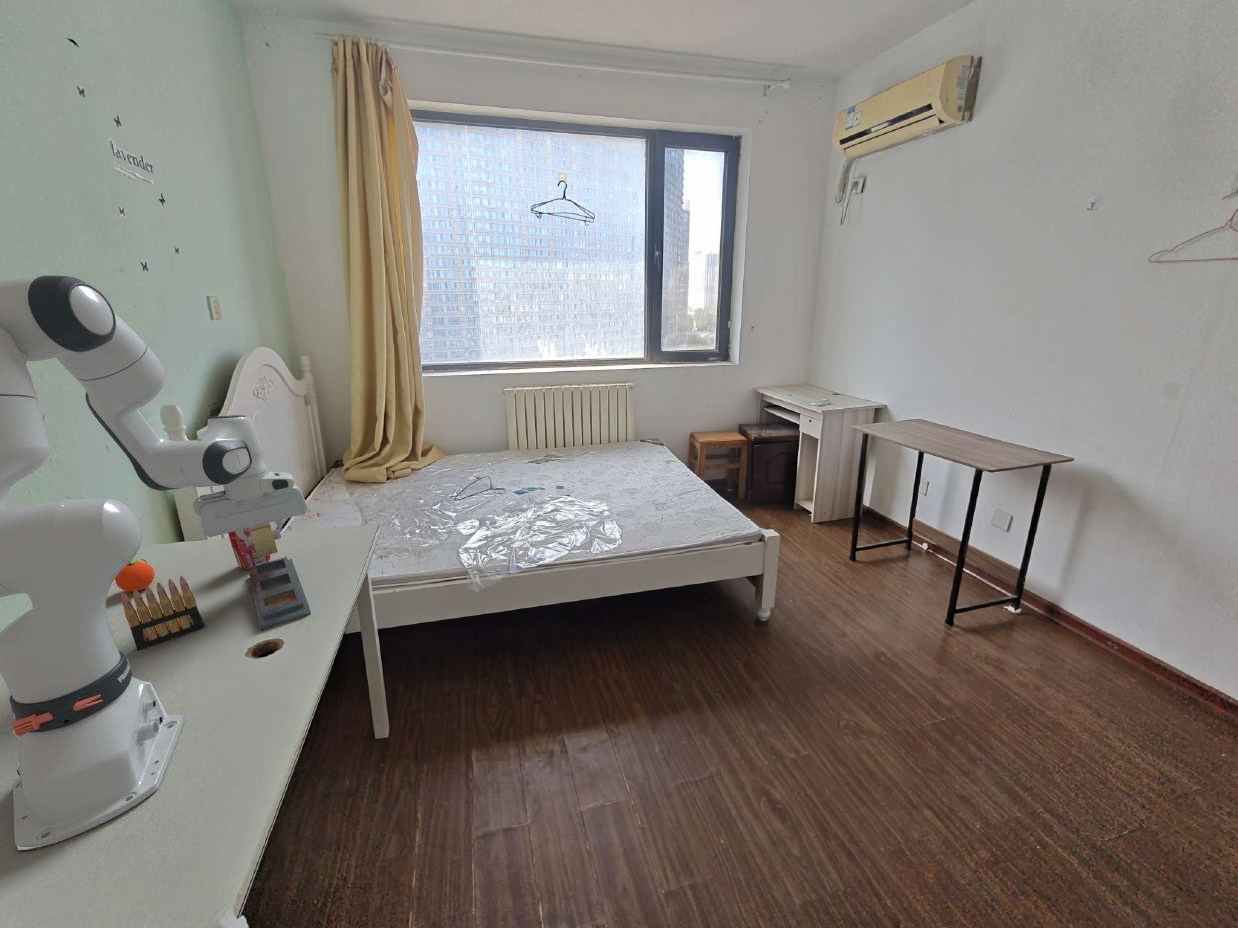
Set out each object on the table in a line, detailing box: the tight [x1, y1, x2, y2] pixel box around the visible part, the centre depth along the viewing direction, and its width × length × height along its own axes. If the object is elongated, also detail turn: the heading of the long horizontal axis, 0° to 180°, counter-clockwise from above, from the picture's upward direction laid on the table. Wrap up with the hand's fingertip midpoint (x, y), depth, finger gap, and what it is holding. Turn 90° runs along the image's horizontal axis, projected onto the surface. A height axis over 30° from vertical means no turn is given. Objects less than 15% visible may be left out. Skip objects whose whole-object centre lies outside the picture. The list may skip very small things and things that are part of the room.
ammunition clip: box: [121, 575, 206, 651], centre depth 107 cm, size 11×2×12 cm, turn 130°
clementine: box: [114, 558, 156, 593], centre depth 127 cm, size 8×7×7 cm
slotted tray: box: [248, 556, 312, 631], centre depth 122 cm, size 28×9×3 cm, turn 36°
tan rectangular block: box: [249, 522, 279, 558], centre depth 126 cm, size 4×4×6 cm
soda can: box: [227, 528, 271, 570], centre depth 135 cm, size 7×7×12 cm
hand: (264, 541), depth 126 cm, fingers closed on tan rectangular block, 4 cm apart
